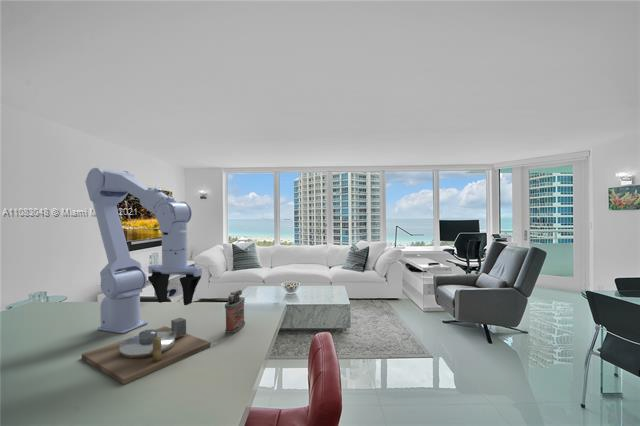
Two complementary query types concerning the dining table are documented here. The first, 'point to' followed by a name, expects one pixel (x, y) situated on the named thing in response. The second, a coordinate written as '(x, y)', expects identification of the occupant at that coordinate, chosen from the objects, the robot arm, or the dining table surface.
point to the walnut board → (138, 367)
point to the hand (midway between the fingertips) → (175, 302)
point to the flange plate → (146, 349)
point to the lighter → (234, 313)
